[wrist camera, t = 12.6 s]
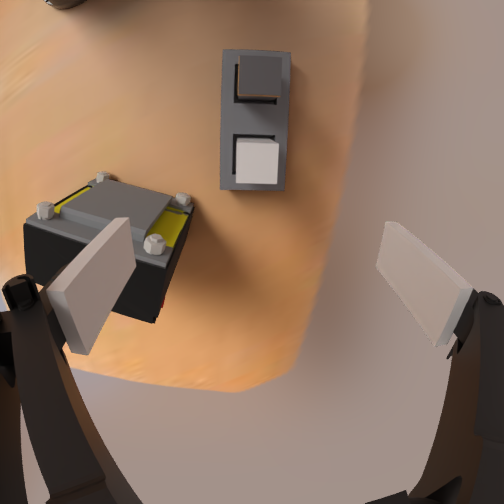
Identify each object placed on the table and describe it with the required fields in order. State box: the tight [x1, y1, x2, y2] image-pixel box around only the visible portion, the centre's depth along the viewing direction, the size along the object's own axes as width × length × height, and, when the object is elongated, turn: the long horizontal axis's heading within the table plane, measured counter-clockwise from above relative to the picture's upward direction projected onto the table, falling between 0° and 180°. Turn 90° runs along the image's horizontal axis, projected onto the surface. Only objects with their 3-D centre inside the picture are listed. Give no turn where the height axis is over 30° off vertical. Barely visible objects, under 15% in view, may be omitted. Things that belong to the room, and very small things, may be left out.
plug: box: [238, 55, 282, 102], centre depth 31 cm, size 5×5×11 cm
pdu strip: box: [220, 49, 291, 191], centre depth 37 cm, size 20×9×4 cm, turn 178°
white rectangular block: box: [236, 137, 279, 184], centre depth 35 cm, size 5×5×11 cm
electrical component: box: [23, 171, 195, 324], centre depth 35 cm, size 18×10×20 cm, turn 71°
